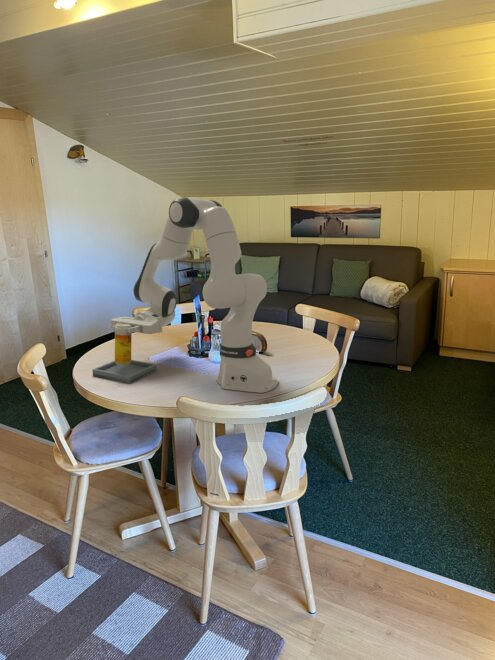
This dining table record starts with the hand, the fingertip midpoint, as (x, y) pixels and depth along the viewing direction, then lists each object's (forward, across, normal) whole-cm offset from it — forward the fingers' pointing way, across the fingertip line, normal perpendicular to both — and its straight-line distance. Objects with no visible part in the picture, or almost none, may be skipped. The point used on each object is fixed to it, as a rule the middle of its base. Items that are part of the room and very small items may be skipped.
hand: (120, 329), depth 180 cm
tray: (-1, 0, +17) cm, 17 cm away
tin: (-50, +31, +18) cm, 61 cm away
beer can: (0, 0, +14) cm, 14 cm away
